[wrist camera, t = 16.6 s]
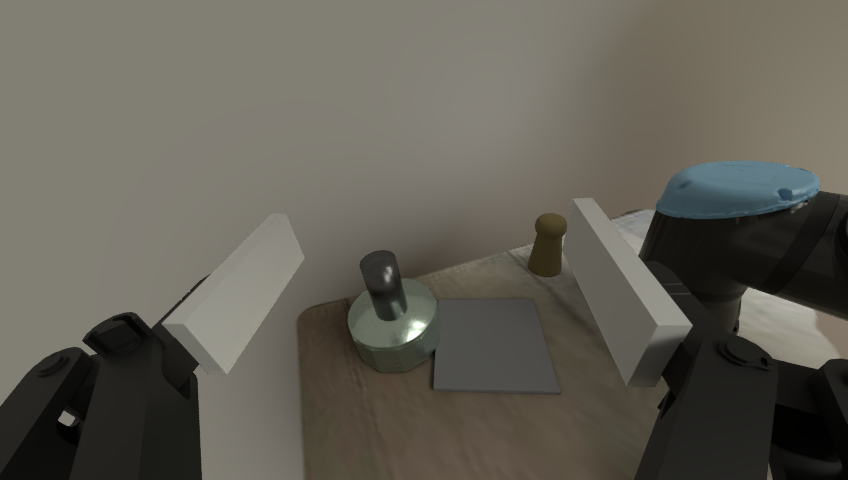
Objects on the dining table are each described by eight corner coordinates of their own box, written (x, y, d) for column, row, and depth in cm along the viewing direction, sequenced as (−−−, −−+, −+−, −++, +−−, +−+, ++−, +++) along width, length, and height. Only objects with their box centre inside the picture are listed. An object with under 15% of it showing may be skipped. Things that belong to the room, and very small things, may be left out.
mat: (532, 301, 51) (533, 298, 50) (559, 394, 38) (560, 391, 37) (438, 301, 53) (438, 299, 52) (433, 390, 40) (433, 388, 39)
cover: (441, 301, 52) (430, 230, 44) (438, 371, 41) (422, 295, 33) (369, 304, 54) (345, 236, 46) (348, 372, 43) (311, 300, 35)
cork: (559, 258, 59) (569, 209, 53) (562, 278, 54) (573, 227, 48) (527, 255, 61) (533, 208, 55) (527, 275, 56) (533, 225, 50)
